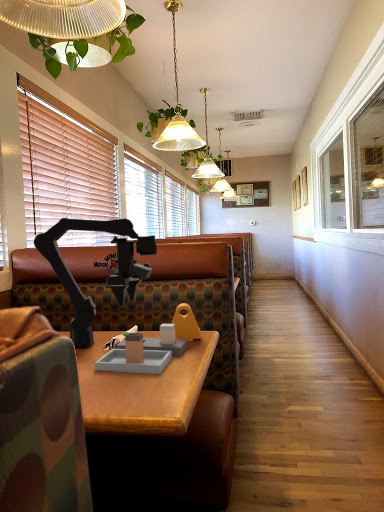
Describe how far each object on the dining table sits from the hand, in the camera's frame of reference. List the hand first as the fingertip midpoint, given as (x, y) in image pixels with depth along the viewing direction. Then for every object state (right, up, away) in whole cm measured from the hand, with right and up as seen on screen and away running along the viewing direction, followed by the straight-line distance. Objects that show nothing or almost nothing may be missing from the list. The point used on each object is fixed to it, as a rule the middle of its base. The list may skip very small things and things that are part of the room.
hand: (127, 303), depth 124 cm
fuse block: (+10, -13, -9) cm, 19 cm away
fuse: (+14, -13, -10) cm, 22 cm away
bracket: (+19, -13, +3) cm, 23 cm away
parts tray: (+6, -14, -22) cm, 27 cm away
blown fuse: (+6, -14, -22) cm, 26 cm away
